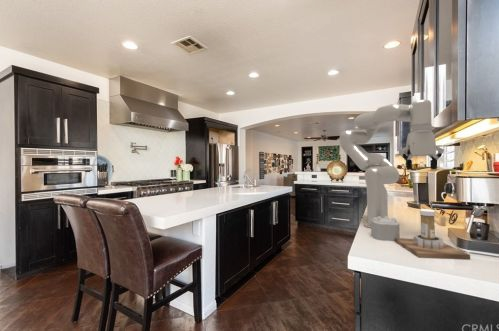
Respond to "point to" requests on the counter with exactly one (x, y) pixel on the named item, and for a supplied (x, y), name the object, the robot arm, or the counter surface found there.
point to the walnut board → (431, 250)
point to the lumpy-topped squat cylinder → (385, 228)
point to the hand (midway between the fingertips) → (421, 169)
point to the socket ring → (428, 242)
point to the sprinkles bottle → (427, 224)
